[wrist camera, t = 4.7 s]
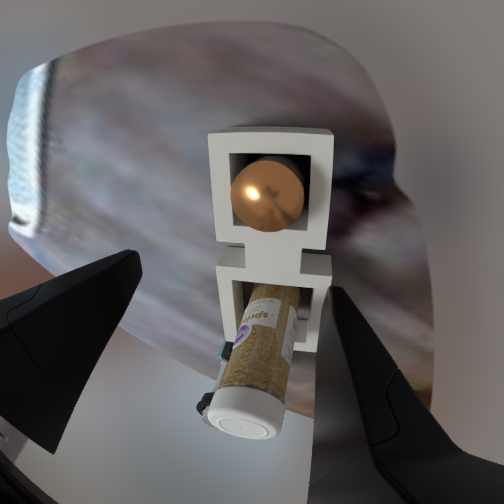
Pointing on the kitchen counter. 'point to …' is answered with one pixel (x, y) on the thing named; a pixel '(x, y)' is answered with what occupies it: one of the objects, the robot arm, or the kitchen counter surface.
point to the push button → (207, 398)
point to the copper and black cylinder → (269, 192)
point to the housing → (272, 243)
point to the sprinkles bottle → (258, 365)
